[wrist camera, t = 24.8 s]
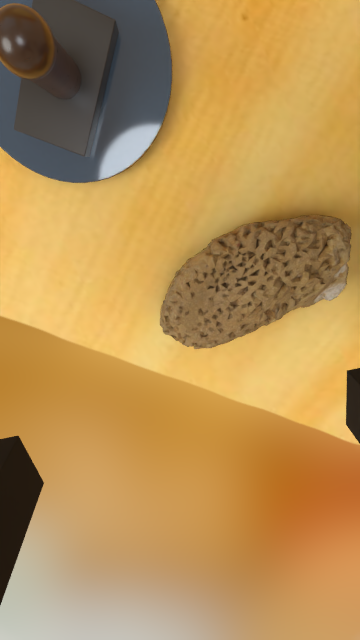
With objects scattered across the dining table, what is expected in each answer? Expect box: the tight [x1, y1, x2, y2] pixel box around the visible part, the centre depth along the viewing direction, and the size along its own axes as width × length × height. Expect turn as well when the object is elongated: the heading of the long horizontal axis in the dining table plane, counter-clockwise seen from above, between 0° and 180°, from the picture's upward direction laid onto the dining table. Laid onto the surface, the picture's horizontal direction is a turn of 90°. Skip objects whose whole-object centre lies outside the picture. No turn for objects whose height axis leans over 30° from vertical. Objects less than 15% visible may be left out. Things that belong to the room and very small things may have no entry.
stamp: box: [0, 0, 119, 157], centre depth 24 cm, size 10×6×13 cm, turn 160°
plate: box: [0, 0, 172, 183], centre depth 29 cm, size 18×18×1 cm
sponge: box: [160, 215, 351, 349], centre depth 36 cm, size 13×8×20 cm
